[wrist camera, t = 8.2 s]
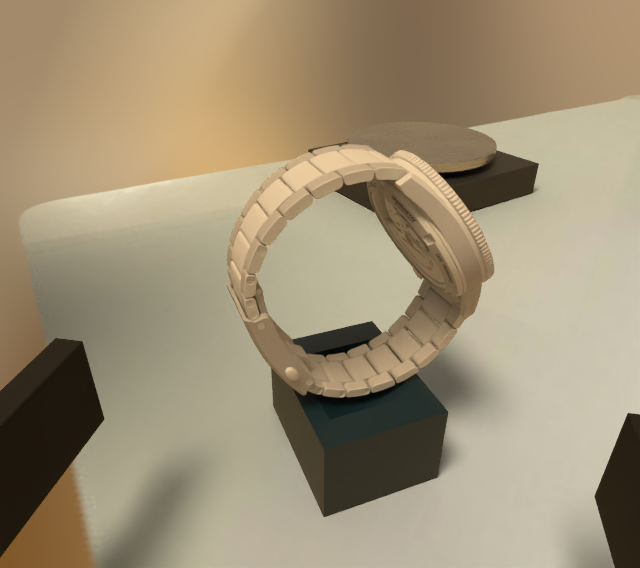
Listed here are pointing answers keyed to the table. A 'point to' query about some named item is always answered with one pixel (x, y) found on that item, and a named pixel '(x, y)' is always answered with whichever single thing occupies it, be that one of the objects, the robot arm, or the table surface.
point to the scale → (472, 182)
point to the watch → (364, 325)
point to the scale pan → (430, 144)
